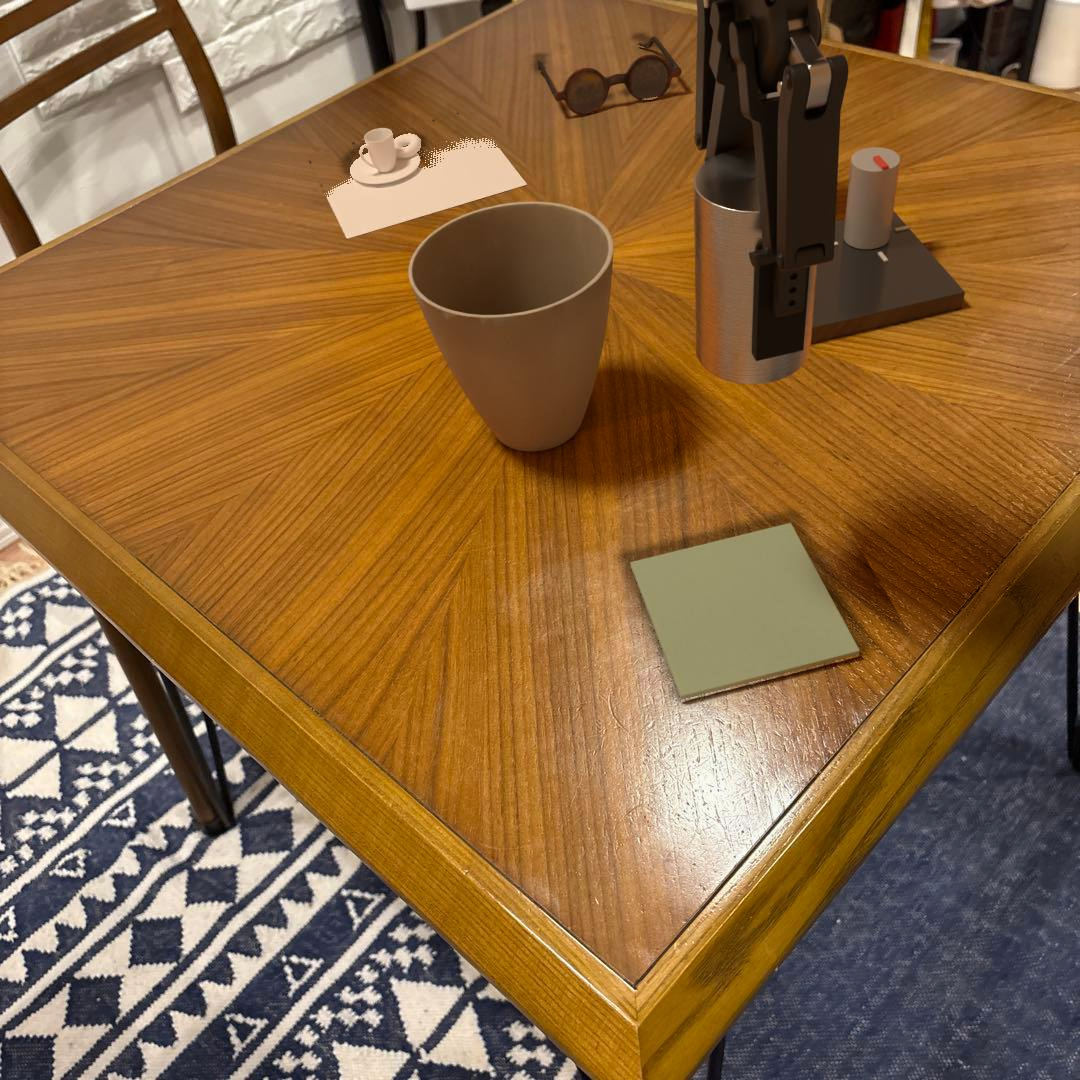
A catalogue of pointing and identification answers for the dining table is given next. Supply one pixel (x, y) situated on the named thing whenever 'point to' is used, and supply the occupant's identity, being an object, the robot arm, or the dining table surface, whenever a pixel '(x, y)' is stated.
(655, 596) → the trivet
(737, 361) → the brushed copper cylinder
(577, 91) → the eyeglasses
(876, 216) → the hob knob
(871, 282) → the hob control panel
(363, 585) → the dining table surface
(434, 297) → the plant pot
